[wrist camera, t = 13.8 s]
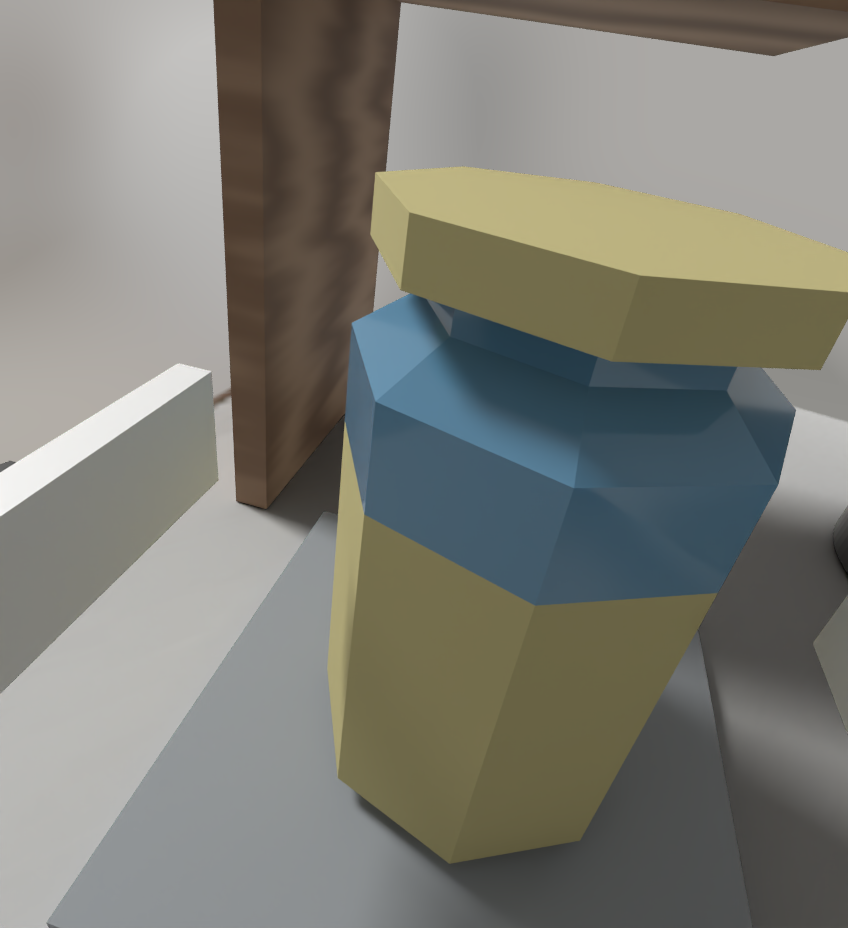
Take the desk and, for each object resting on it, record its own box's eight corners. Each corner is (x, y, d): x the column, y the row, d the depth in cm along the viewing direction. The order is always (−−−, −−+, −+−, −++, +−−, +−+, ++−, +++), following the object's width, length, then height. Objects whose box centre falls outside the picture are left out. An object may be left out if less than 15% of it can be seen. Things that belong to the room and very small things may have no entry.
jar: (602, 640, 22) (788, 214, 14) (628, 926, 15) (1065, 358, 7) (363, 584, 23) (411, 149, 15) (270, 830, 15) (262, 211, 7)
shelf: (344, 381, 39) (373, -44, 28) (626, 448, 37) (789, 12, 25) (236, 500, 28) (206, -148, 16) (638, 610, 25) (953, -62, 13)
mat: (323, 524, 27) (323, 510, 27) (687, 624, 25) (694, 610, 24) (53, 937, 14) (46, 923, 13) (787, 1229, 12) (807, 1223, 11)
